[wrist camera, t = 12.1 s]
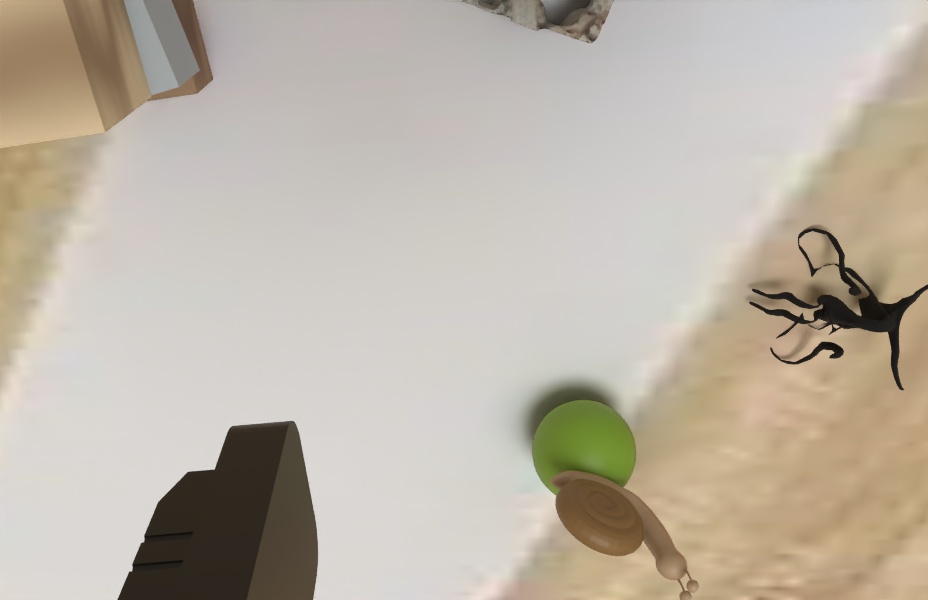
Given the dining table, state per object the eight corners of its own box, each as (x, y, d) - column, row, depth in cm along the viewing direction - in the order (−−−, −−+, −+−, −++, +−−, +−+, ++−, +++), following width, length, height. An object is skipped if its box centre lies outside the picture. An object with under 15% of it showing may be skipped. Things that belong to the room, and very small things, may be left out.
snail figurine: (613, 479, 50) (668, 641, 39) (511, 447, 49) (538, 605, 38) (655, 403, 48) (726, 552, 37) (550, 368, 47) (592, 511, 36)
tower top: (-41, -55, 34) (-89, -50, 30) (127, -109, 33) (96, -110, 30) (44, 117, 37) (8, 138, 33) (199, 70, 36) (179, 86, 33)
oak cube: (-46, -35, 31) (-135, -21, 26) (107, -58, 31) (47, -49, 26) (10, 118, 33) (-62, 157, 28) (151, 96, 33) (105, 132, 28)
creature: (732, 347, 48) (878, 367, 47) (743, 394, 43) (906, 418, 42) (762, 216, 45) (920, 235, 44) (778, 251, 40) (955, 274, 39)
